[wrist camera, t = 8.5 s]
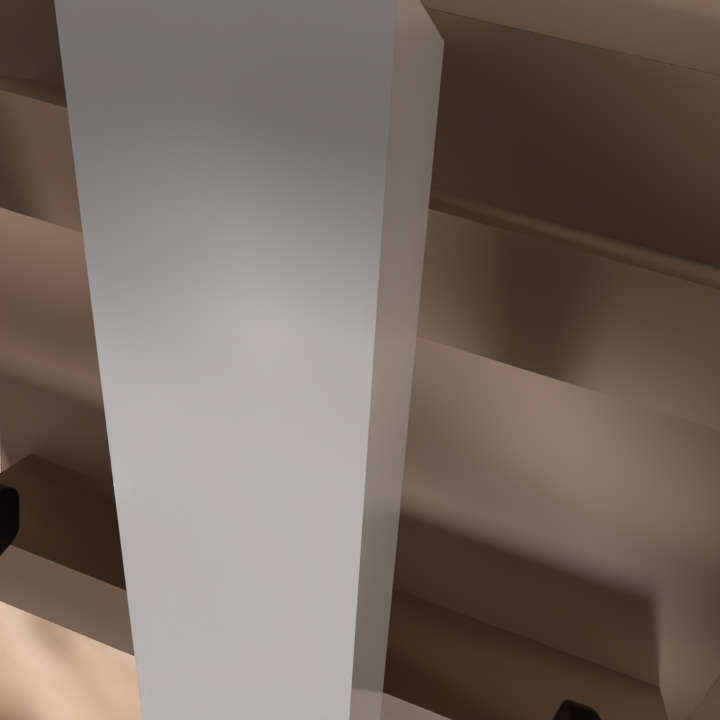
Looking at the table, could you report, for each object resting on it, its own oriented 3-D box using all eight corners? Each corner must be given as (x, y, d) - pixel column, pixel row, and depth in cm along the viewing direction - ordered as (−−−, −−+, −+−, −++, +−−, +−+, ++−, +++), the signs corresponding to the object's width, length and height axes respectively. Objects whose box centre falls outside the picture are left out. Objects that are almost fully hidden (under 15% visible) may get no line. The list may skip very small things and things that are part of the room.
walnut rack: (611, 781, 17) (640, 956, 13) (26, 550, 20) (-84, 643, 16) (1034, 159, 10) (1343, 167, 6) (25, -76, 12) (-175, -169, 9)
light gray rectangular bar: (372, 800, 14) (329, 1007, 10) (247, 763, 14) (170, 948, 11) (444, 41, 8) (400, -33, 5) (227, 37, 8) (49, -33, 5)
